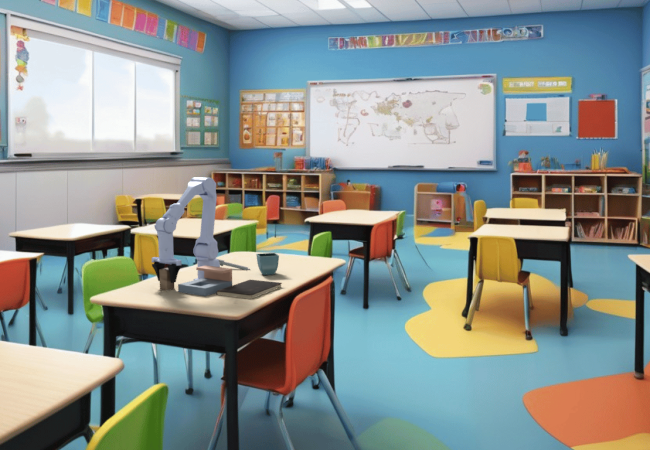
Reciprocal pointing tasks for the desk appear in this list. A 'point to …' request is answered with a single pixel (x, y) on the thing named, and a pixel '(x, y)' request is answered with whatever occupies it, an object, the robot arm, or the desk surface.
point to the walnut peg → (165, 279)
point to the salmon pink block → (216, 272)
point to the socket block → (203, 286)
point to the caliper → (232, 265)
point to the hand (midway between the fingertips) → (167, 281)
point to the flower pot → (267, 263)
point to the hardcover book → (249, 289)
